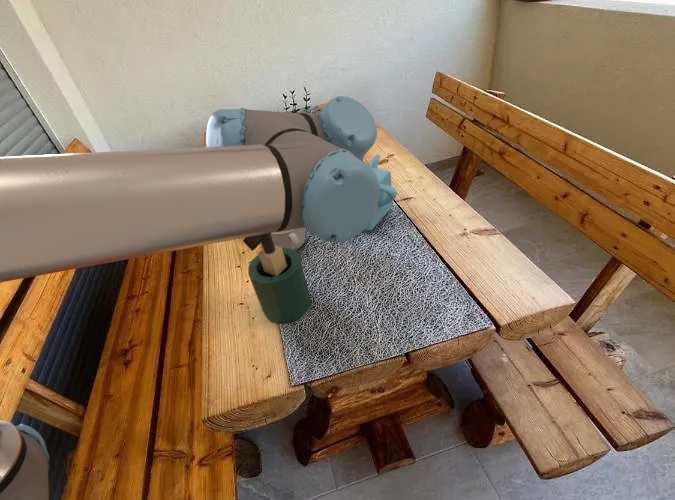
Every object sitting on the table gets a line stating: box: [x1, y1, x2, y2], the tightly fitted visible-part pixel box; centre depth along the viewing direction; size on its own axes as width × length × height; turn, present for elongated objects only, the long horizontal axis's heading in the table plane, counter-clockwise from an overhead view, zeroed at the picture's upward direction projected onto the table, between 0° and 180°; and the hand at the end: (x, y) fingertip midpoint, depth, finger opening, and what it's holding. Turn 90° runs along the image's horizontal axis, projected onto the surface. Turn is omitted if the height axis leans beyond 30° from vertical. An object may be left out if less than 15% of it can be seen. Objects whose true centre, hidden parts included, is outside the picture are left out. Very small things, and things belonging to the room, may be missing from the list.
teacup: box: [271, 228, 307, 252], centre depth 98 cm, size 14×11×8 cm
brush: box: [257, 233, 287, 276], centre depth 74 cm, size 3×3×16 cm
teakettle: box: [362, 154, 398, 232], centre depth 103 cm, size 19×19×15 cm
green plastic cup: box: [247, 248, 312, 324], centre depth 82 cm, size 11×11×12 cm
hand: (253, 240), depth 77 cm, fingers closed on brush, 2 cm apart
